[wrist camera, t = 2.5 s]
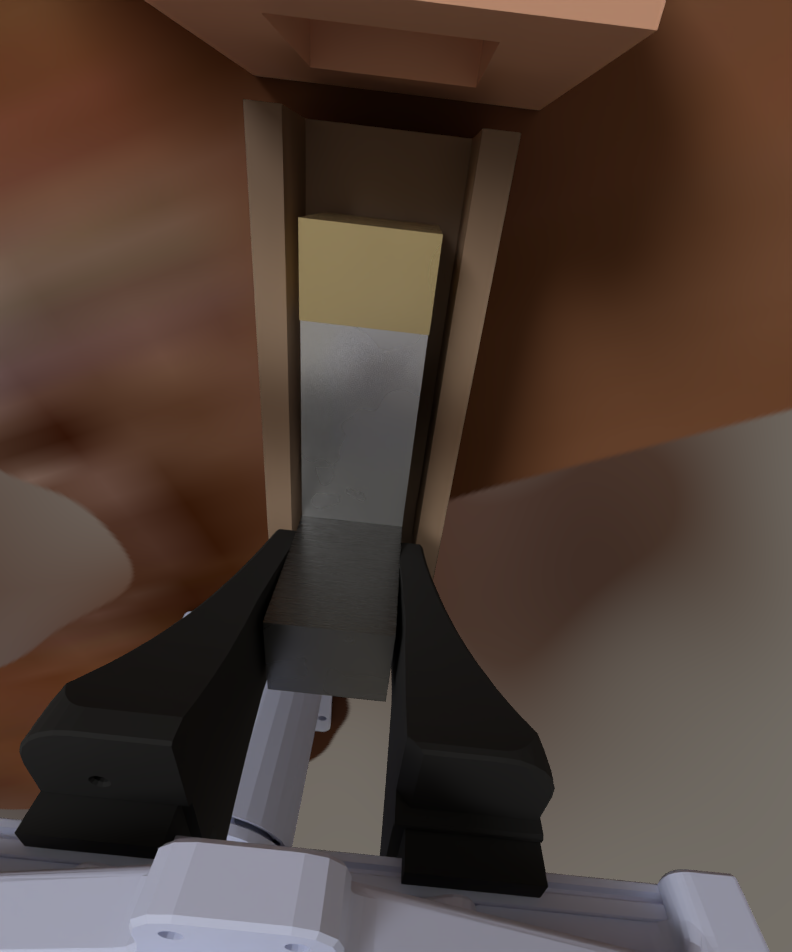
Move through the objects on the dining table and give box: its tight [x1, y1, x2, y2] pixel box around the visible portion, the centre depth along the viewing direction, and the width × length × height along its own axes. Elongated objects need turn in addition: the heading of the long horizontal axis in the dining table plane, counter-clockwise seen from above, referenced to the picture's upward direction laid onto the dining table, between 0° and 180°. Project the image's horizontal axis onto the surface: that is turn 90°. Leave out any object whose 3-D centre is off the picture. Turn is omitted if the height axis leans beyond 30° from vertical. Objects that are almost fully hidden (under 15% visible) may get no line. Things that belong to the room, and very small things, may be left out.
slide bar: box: [263, 212, 443, 701], centre depth 13 cm, size 14×3×7 cm, turn 174°
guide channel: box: [243, 99, 521, 580], centre depth 15 cm, size 15×6×4 cm, turn 174°
